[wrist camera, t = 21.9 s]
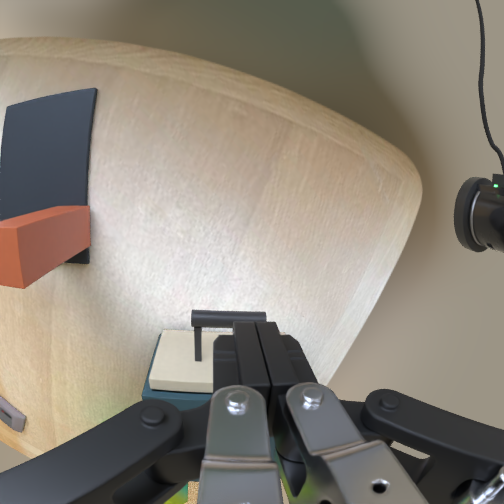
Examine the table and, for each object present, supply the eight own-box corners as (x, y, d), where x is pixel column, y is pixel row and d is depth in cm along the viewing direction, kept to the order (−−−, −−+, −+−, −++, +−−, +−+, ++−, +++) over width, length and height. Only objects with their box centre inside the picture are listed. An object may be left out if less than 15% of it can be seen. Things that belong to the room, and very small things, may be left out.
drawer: (160, 285, 27) (141, 326, 19) (291, 289, 29) (317, 330, 21) (172, 415, 31) (166, 464, 23) (271, 416, 33) (283, 464, 25)
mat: (9, 107, 20) (6, 106, 19) (97, 89, 22) (95, 87, 21) (5, 256, 24) (3, 257, 24) (89, 262, 26) (87, 264, 26)
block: (58, 205, 24) (-20, 227, 12) (89, 205, 24) (16, 227, 13) (59, 244, 25) (-12, 283, 13) (91, 245, 25) (24, 289, 14)
